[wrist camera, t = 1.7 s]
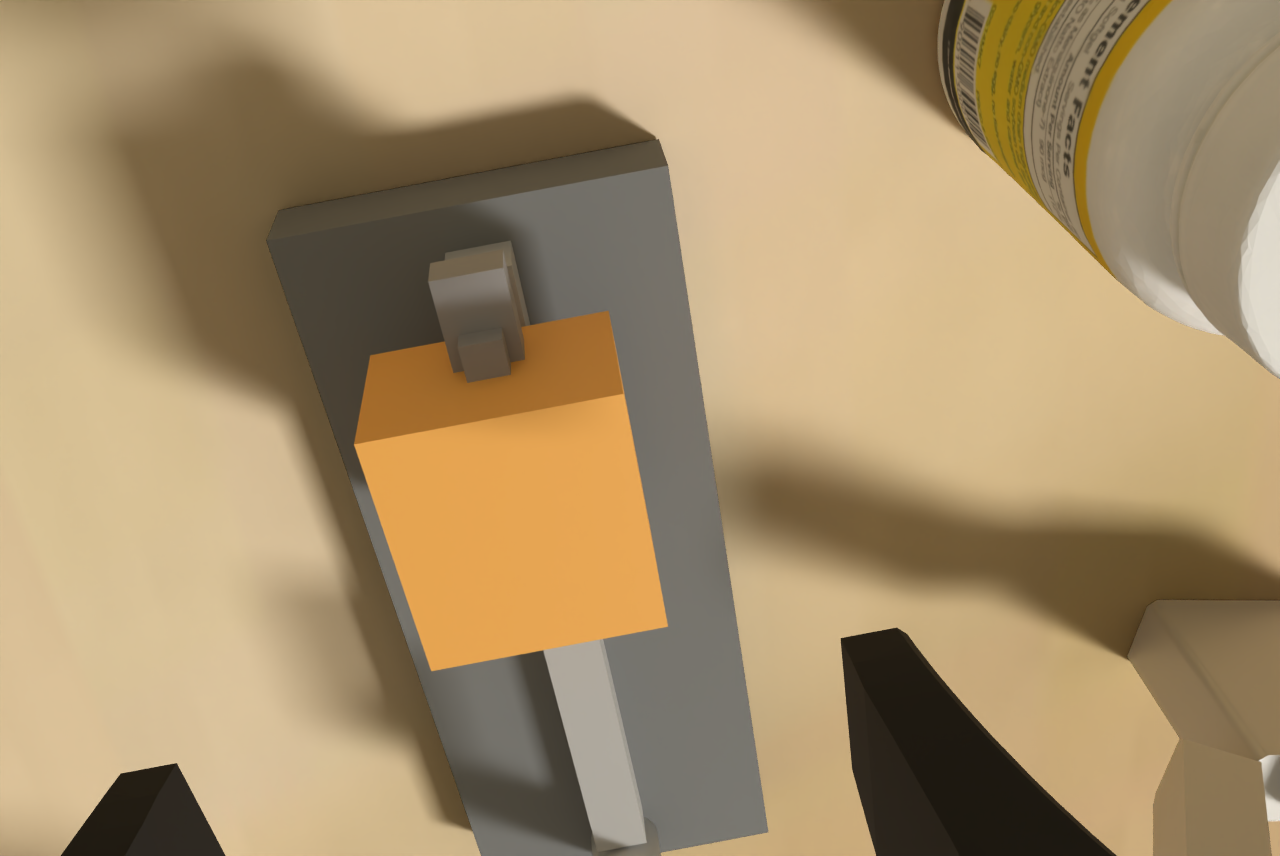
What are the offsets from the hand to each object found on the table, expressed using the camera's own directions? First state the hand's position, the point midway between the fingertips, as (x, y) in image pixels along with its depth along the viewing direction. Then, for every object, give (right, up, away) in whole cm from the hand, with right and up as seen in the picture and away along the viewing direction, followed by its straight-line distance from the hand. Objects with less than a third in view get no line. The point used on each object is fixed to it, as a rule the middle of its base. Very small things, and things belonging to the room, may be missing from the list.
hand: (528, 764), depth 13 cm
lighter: (+12, -1, +13) cm, 18 cm away
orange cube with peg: (-1, +4, +5) cm, 6 cm away
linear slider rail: (0, +1, +10) cm, 10 cm away
